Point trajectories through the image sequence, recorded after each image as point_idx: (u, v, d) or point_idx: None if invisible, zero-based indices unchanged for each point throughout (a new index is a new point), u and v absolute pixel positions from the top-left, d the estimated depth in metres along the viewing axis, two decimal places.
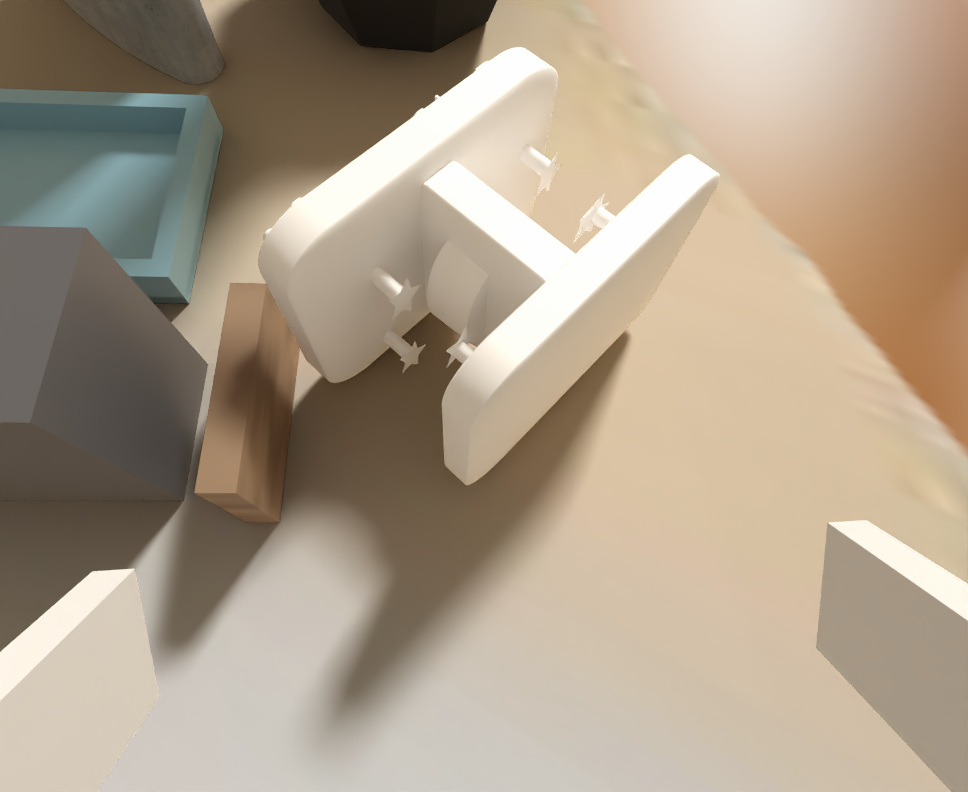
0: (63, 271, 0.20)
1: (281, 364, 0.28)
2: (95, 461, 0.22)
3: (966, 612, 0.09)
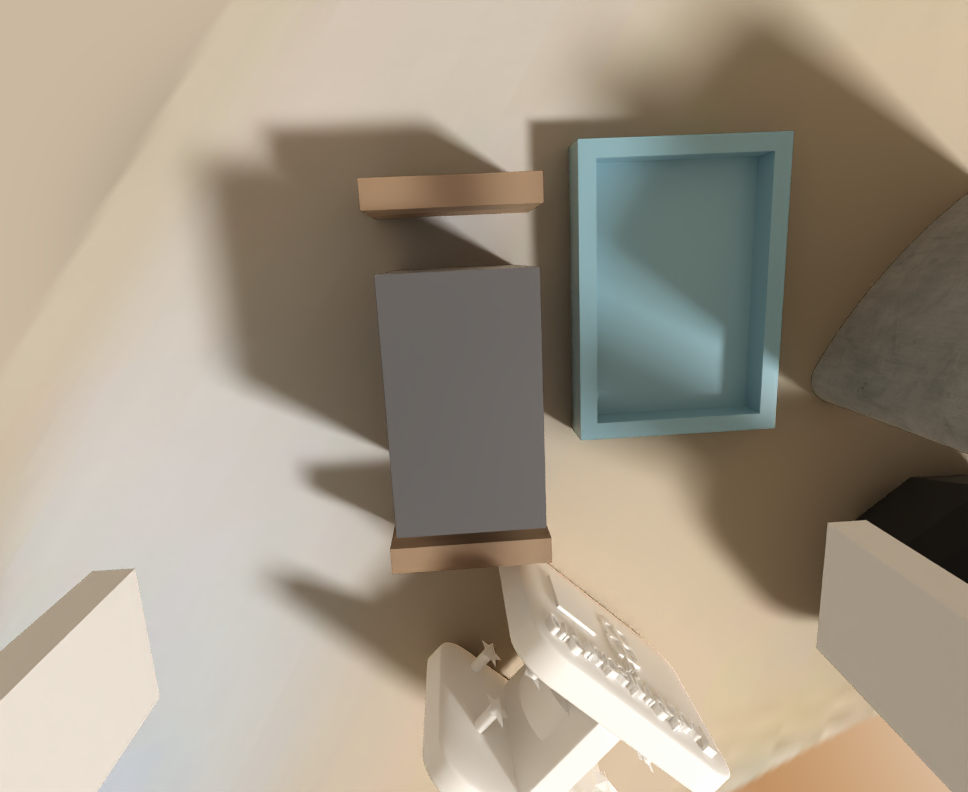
0: (509, 524, 0.28)
1: None
2: None
3: (966, 612, 0.09)
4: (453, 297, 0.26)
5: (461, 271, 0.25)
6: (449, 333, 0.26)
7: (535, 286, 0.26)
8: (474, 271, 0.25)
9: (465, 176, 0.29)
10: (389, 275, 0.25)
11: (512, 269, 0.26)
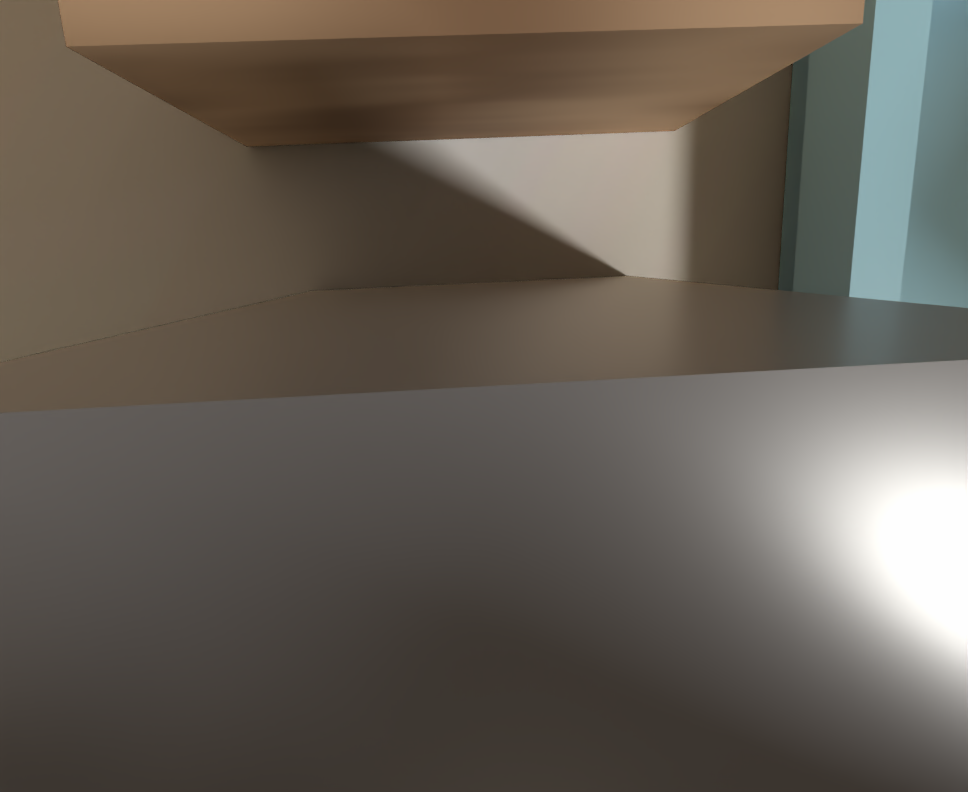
0: None
1: None
2: None
3: None
4: (509, 610, 0.03)
5: (590, 384, 0.03)
6: None
7: None
8: (717, 387, 0.03)
9: None
10: None
11: None
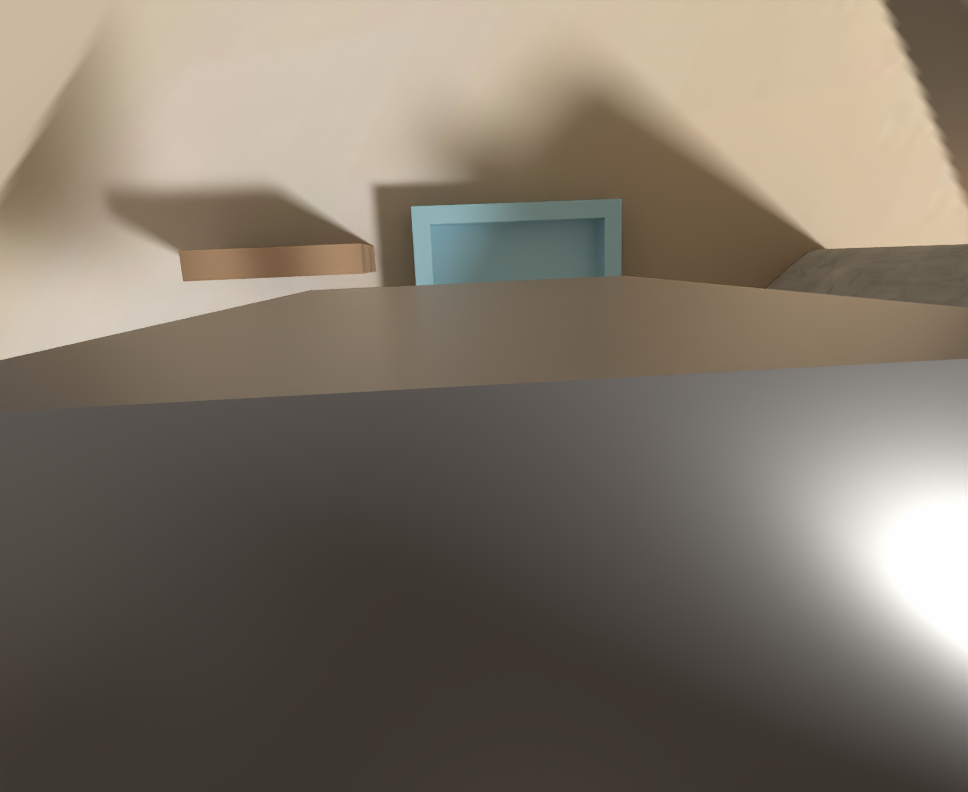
0: None
1: None
2: None
3: None
4: (505, 611, 0.03)
5: (584, 383, 0.03)
6: None
7: None
8: (712, 386, 0.03)
9: (285, 248, 0.30)
10: None
11: None
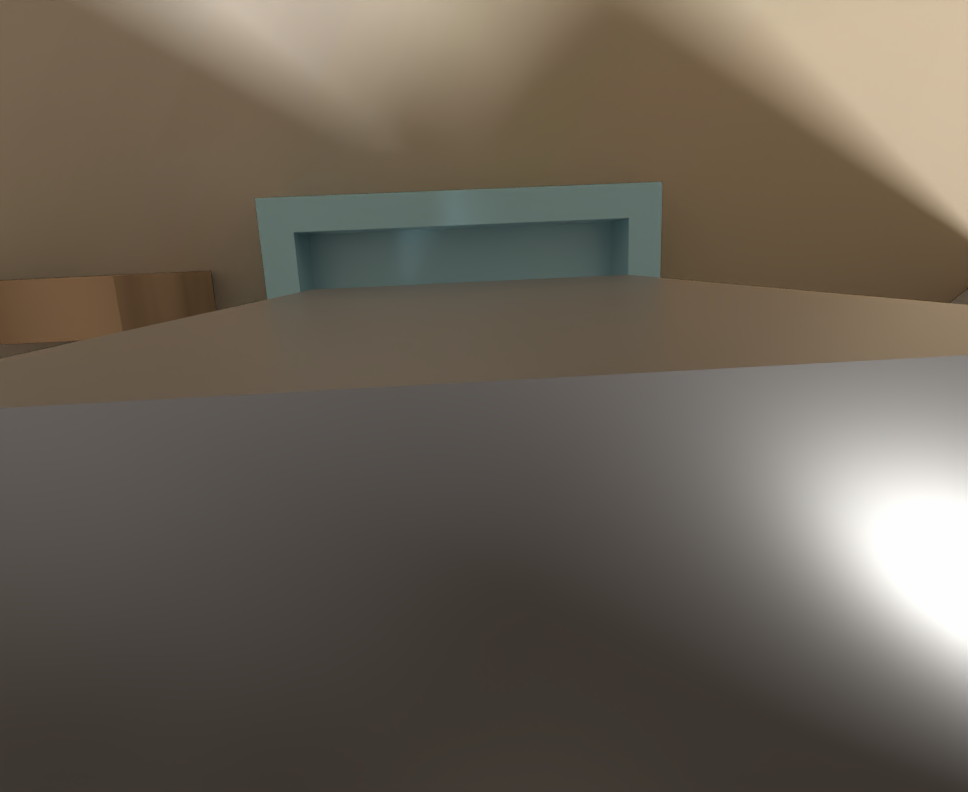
0: None
1: None
2: None
3: None
4: (511, 610, 0.03)
5: (591, 380, 0.03)
6: None
7: None
8: (719, 383, 0.03)
9: None
10: None
11: None
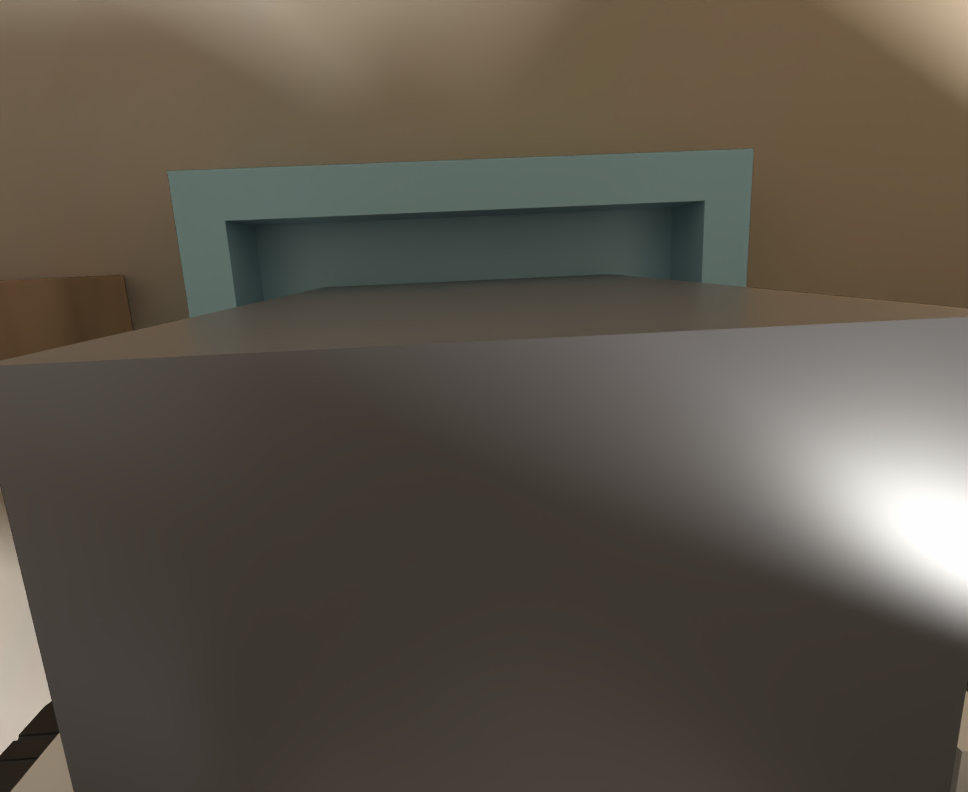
0: None
1: None
2: None
3: None
4: (489, 497, 0.04)
5: (542, 342, 0.04)
6: (466, 688, 0.05)
7: None
8: (625, 343, 0.04)
9: None
10: (74, 371, 0.04)
11: (857, 330, 0.04)
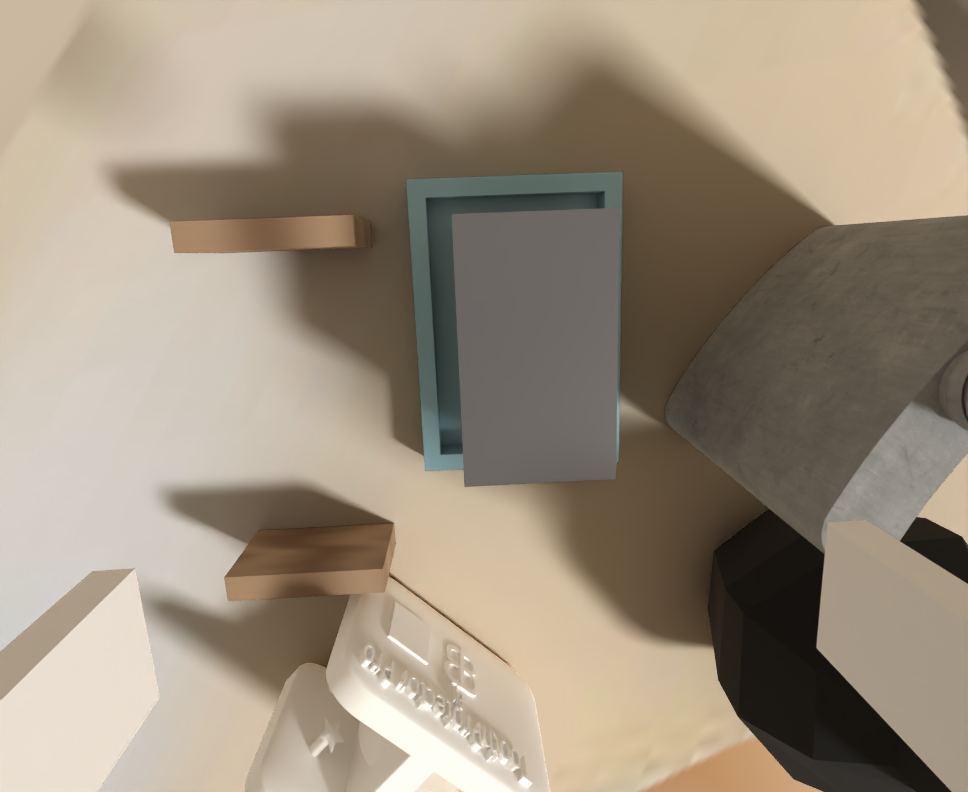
0: (578, 474, 0.28)
1: None
2: None
3: (966, 612, 0.09)
4: (530, 238, 0.25)
5: (539, 211, 0.25)
6: (525, 276, 0.25)
7: (614, 228, 0.25)
8: (553, 211, 0.25)
9: (276, 220, 0.30)
10: (466, 214, 0.25)
11: (591, 210, 0.25)
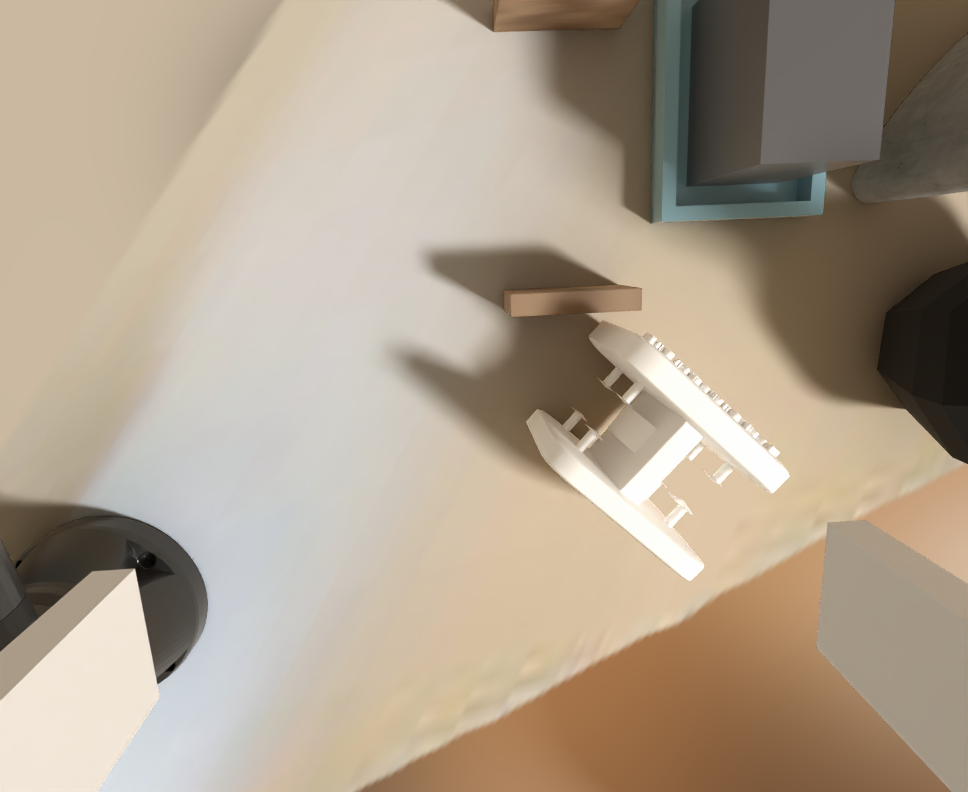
0: (850, 154, 0.34)
1: None
2: (727, 168, 0.38)
3: (966, 612, 0.09)
4: None
5: None
6: None
7: None
8: None
9: None
10: None
11: None
